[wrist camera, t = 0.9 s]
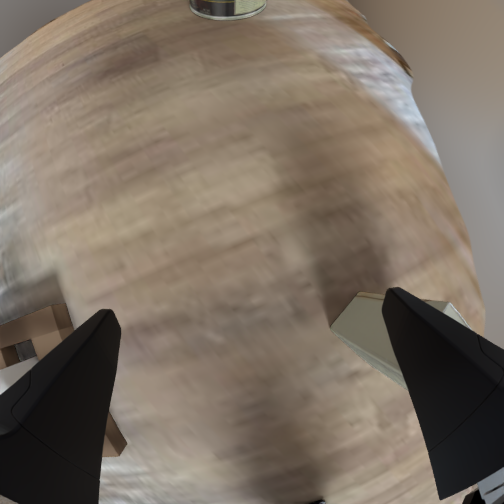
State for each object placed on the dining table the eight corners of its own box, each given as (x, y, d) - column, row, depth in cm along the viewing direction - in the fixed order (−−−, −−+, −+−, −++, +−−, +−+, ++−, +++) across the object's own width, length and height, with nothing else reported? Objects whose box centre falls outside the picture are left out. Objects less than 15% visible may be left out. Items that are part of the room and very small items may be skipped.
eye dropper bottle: (66, 392, 21) (-6, 441, 9) (33, 393, 20) (-36, 430, 8) (52, 352, 21) (-31, 384, 9) (20, 356, 20) (-56, 381, 8)
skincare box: (399, 330, 23) (493, 358, 11) (369, 368, 22) (452, 421, 10) (357, 288, 23) (452, 296, 11) (324, 328, 22) (402, 373, 10)
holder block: (127, 443, 20) (119, 456, 18) (37, 445, 19) (27, 453, 17) (65, 303, 21) (50, 305, 19) (-12, 333, 20) (-25, 335, 18)
